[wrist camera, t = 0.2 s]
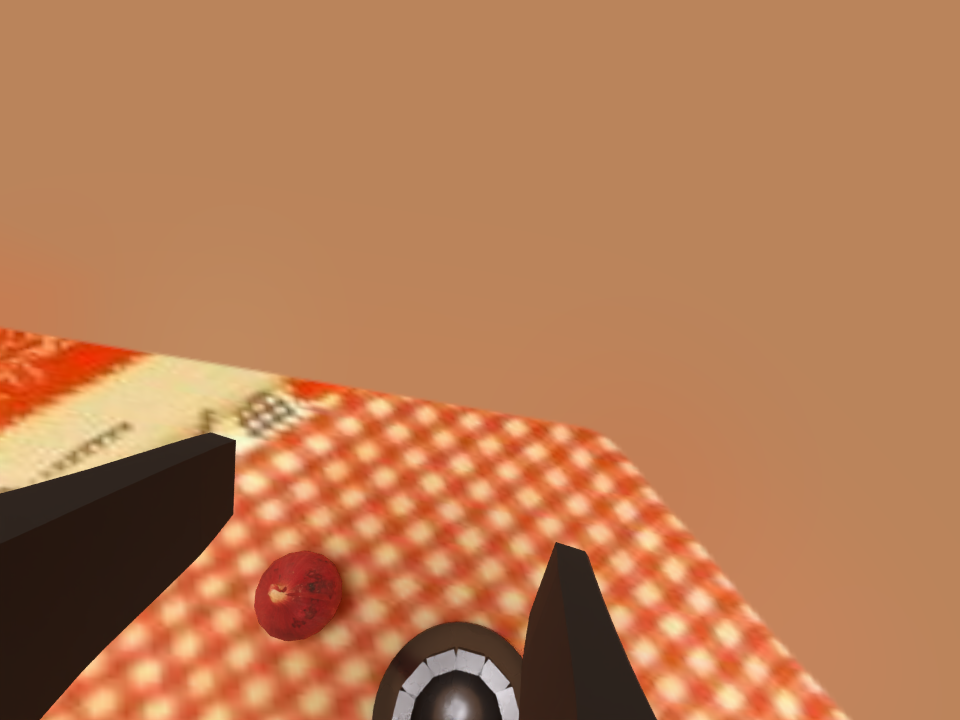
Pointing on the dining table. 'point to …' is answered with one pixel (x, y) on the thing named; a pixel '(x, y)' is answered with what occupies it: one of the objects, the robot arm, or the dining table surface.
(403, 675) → the ridged round lid
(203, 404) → the dining table surface
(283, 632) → the onion
